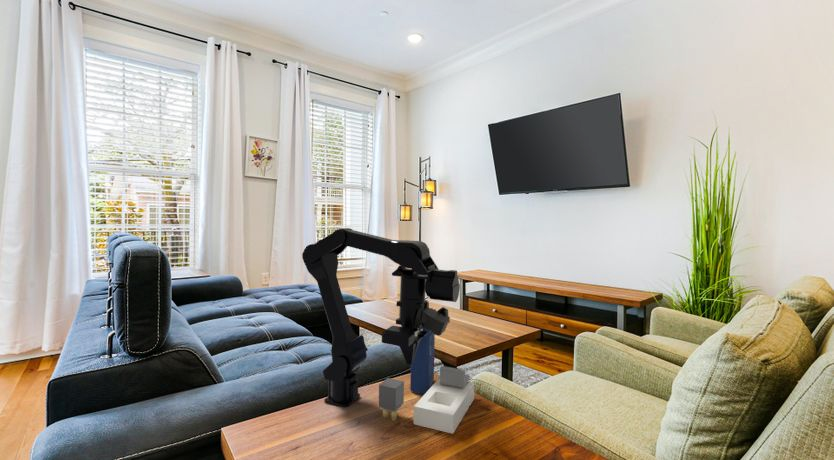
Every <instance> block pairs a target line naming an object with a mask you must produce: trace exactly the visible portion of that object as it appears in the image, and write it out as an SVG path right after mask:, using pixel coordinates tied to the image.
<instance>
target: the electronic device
mask: <svg viewBox="0 0 834 460" xmlns="http://www.w3.org/2000/svg"><path fill="white" fill-rule="evenodd" d="M429 308H430V309H432V310H434V309H435V308H432V307H429ZM421 328H423V331H427V332H428V334H426V335H425V336H424V337H423V338H422V339H421V340H420V342H419V345H418V348H417V351H416V354H415V358H414V361H413V364H411V365H410V380H409V381H410V387H409V388H410V392H412V393H413V394H422V395H424V394H425V393H426V392H427V391H428V390H429V389H430V388H431V387H432V385H433V383H434V382H433V381H434V379H435V348H436V346H435V342H436V341H435V338H436V337H435V334H434V333H433V332H432V331H430V330H428V329H426V328H424V327H423V326H421Z"/></svg>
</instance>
